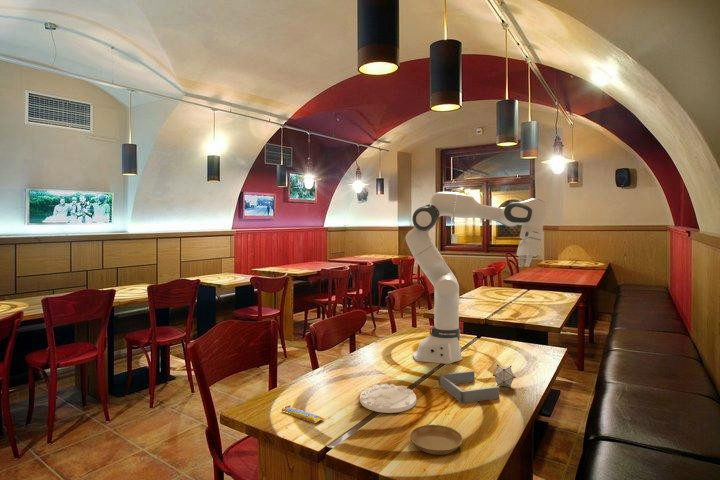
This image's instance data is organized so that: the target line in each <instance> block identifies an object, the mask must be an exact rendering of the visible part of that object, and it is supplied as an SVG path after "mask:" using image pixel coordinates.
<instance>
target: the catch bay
mask: <svg viewBox="0 0 720 480" xmlns="http://www.w3.org/2000/svg"><path fill="white" fill-rule="evenodd" d="M475 374H476V373H475V370H468V371H467V370H465V371H459V372H458V371H457V372H450V373H448V372H447V373H440V374H439V373H438V385H439V386H440V387H441V388H442V389H444V390H445V391H446V392H447V393H449V394H450V395H451V396H452V397H453V398H455V399H456V401H458V402H460V403H461V404H466V403H473V402H480V401H487V400H489V401H490V400H493V399H494V400H495V399H500V386H499V385H498V386H497V385H496V386H494V385H493V386H488V387H480V388H471V389H465V390H463V389H461V388H460V387H459V386H457V385H456V384H464V383H472V382H475V381H476V380H475V379H476V377H475Z"/></svg>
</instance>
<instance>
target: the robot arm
mask: <svg viewBox="0 0 720 480" xmlns="http://www.w3.org/2000/svg"><path fill="white" fill-rule="evenodd" d="M547 211H548V205H547V204H546V202H545V201H543V200H541V199H538V198H535V197H531V198H530V199H527V200H524V201H516V202H515V201H514V202H510V203H508V204H507V205H506V206H504V207H496V206H491V205H485V204H482V203H480V202H478V201H477V200H476V199H475V198H474V197H473V196H471V195H468V194H465V193H461V192H453V191H437V192H435V193H434V194H433V195H432V197H431V198H430V202H429V204H425V205H422V206H420V207H418V208H417V209H415V210H414V212H413V214H412V218H411V219H412V224H413V228H412V229H410V230H409V231H408V232H407V233H406V235H405V242H406V244H407V247H408V248H409V249H408V250H409V251H410V253H411V255H412V256H413V258H414V259H415V261H416V263H417V264H418V266H419V268H421V270H422V272H423V273H424V275H425V276H426V278H427V279H428V280H429V282H430V283H431V285H432V286H433V288H434V289H433V290H434V291H433V292H434V296H433V297H434V298H433V299H434V301H433V302H434V303H433V305H434V309H433V311H434V314H433V315H434V316H433V317H434V321H433V322H434V326H433V325H429V326H428V330H429V335H428V336H426V337H425V338H423V339H422V340H421V341H420V342H419V344H418V348H417V350H415V351H413V354H412V358H413V360H414V361H417V362H424V363H434V364H435V363H436V364H444V365H450V364H452V363H455V362H459V361H461V360H463V355H462V351H461V348H460V347H461V345H460V338H461V330H460V327H459V325H460V324H459V323H460V322H459V321H460V320H459V319H460V317H459V315H460V314H459V313H460V311H459V310H460V307H459V306H460V285H459V281H458V280H457V277H456V276H455V273H453V272H452V270H451V268H450V267H449V265H448V264H447V262H446V261H445V258H443V256H442V254H441V253H440V251H439V250H438V248H437V246H436V245H435V243H434V242H433V241H432V239H431V237H430V234H429V233H430V231H431V230H432V229H433V228H434V227H435V226H436V224H437V221H438V220H439V217H443V216H444V217H445V216H446V217H452V218H460V219H462V218H464V219H470V218H472V219H476V218H477V219H483V220H489V221H494V222H498V223H499V224H501V225H502V226H505V227H506V228H507V227H508V228H515V227H518V226H519V225H521V229H520V233H519V238H520V239H521V240H520V241H519V243H518V245H517V246H518V247H517V250H516V257H518V267H521V268H523V267H530V265H531V262H533V261H532V260H533V257H537V256H538V255H539V252H540V250H541V249H540V248H541V246H542V241H543V240H544V239H545V235H544V234H543V232H544V224H545V222H546V220H547V219H546V218H547V214H548V212H547ZM525 258H526V260H525ZM524 261H525V262H524Z"/></svg>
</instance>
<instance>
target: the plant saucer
mask: <svg viewBox="0 0 720 480" xmlns="http://www.w3.org/2000/svg"><path fill="white" fill-rule="evenodd" d="M409 437H410V440H411V442H412V443H413V444H414V445H415V446H416V447H417V448H418V449H419V450H420V451H422V452H424V453H427V454H430V455H438V456H441V455H442V456H443V455H449V454H450V453H453V452H454V451H456V450H457V449H458V448H459V447H460V446H461V445H462V443H463V440H464V439H463V435H462V434H461V433H460V432H459V431H458V430H456V429H454V428H452V427H449V426H445V425H440V424H425V425H421V426H417V427H415V428H413V429H412V431H411V432H410V434H409Z"/></svg>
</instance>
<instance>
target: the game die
mask: <svg viewBox="0 0 720 480" xmlns="http://www.w3.org/2000/svg"><path fill="white" fill-rule="evenodd" d="M496 366H497V368H496V370H495V372H494V374H492V377H494V378H495V381H496V383H497V385H496V386H498V387H500V386H501V387H509V388H510V389H512V387H511V386H512V383H513V382H514V379H516V378H517V377H516V376H514V373H513V371H512V369H511V368H512V365H510V366H503V365H502V366H501V365H500V366H499V364H496Z"/></svg>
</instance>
